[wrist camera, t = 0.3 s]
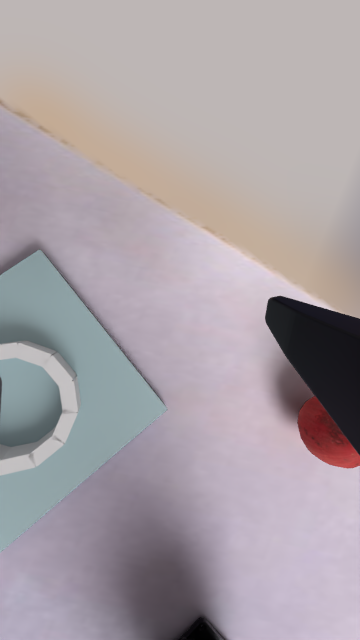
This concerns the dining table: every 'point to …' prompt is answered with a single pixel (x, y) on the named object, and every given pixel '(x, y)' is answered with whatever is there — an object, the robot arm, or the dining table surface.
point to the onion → (325, 436)
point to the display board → (58, 394)
